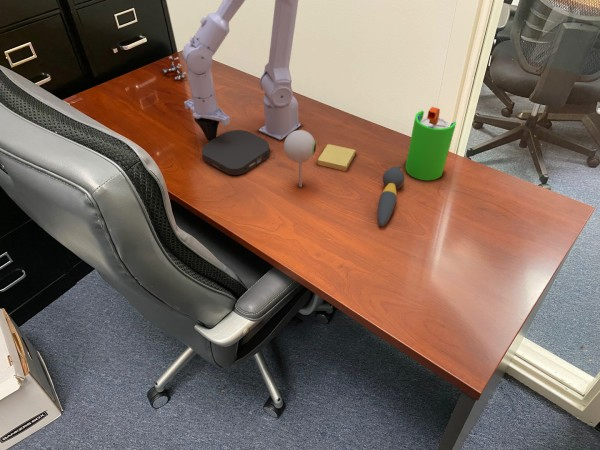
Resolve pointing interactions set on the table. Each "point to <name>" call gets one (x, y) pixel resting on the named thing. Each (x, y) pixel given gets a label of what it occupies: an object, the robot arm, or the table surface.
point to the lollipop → (299, 148)
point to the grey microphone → (389, 193)
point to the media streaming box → (236, 151)
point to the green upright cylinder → (429, 145)
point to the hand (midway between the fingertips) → (211, 139)
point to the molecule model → (175, 69)
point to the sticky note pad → (336, 157)
